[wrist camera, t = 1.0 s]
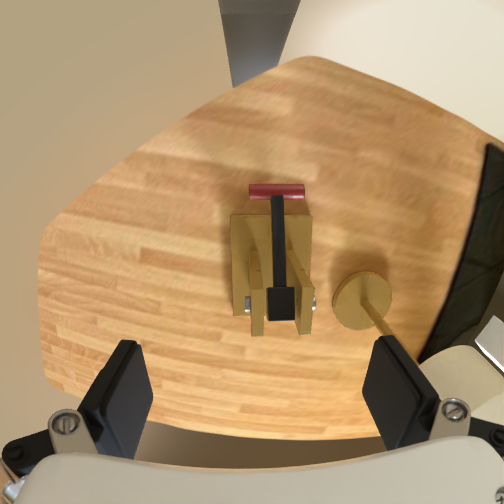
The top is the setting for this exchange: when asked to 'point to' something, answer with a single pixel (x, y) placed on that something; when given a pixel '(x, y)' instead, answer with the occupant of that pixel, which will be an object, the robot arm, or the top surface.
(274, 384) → the top surface
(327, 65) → the top surface
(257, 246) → the switch bracket
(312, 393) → the top surface
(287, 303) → the switch lever
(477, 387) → the table lamp
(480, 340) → the milk
